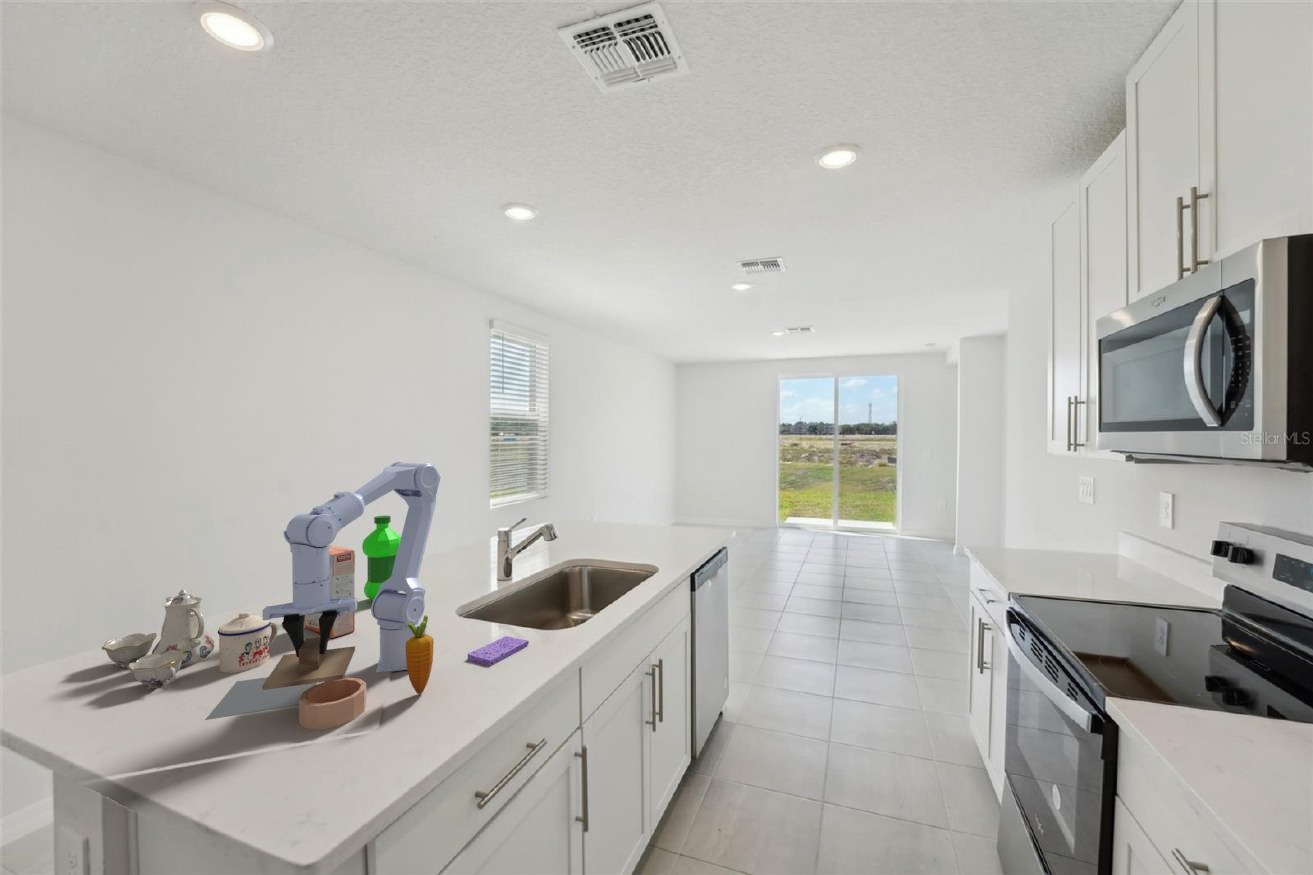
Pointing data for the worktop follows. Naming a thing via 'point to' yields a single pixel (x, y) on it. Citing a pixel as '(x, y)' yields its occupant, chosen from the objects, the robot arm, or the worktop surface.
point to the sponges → (497, 650)
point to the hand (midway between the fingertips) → (311, 653)
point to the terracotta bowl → (332, 703)
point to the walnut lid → (310, 666)
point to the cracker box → (338, 591)
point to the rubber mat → (256, 698)
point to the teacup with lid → (245, 643)
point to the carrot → (419, 656)
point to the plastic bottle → (380, 554)
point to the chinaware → (165, 644)
